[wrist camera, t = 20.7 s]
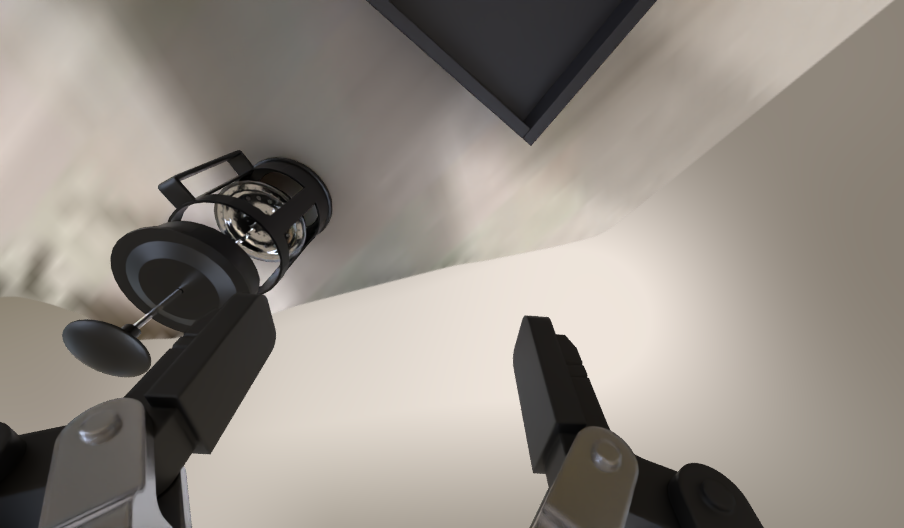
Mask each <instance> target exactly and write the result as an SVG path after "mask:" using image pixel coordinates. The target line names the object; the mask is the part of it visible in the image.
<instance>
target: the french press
mask: <svg viewBox="0 0 904 528" xmlns="http://www.w3.org/2000/svg"><path fill="white" fill-rule="evenodd" d="M225 161H227V162H229V163H230V165H231V166H232V167H233V169H234V170H235V171H236V172H237V174H238V175H239V176H237V177H235V178H233V179H231V180H229V181H227V182H225V183H223V184H222V185H220V186H218V187H216V188H214V189H212V190H210V191H208V192H206V193H204V194H202V195H200V196H198V197H197V198H195V197H194V196H193V195H192V194H191V193H190V192H189V191H188V190H187V188H186V187H185V186H184V185H183V184H182V183H181V180H184V179H186V178H188V177H191V176H193V175H195V174H198V173H200V172H202V171H205V170H207V169H209V168H212V167H214V166H216V165H219V164H221V163H223V162H225ZM270 172H279V173H282V174H284V175H286V176H289V177H290V178H292V179H293V180H295V181H296V182H298V183H299V184H300V185H301V186H302V187H303V189H302V190H301V191H300V192H298V193H297V194H296V195H295V196H294V197H292V198H291V197H290V196H288V195H287V194H286V193H284V192H283V191H281V190H279V189H278V188H276V187H274V186H271V185H269V184H267V183H263V182H259V181H260V179H261V178H262V177H263V176H264V175H266V174H267V173H270ZM234 181H235V182H234ZM233 182H234V183H233ZM231 183H232V184H231ZM225 186H226V187H225ZM223 187H225V188H223ZM221 188H223V189H222V190H221V191H220V193H219V194H212V193H214V192H216V191H218V190H220V189H221ZM158 189H159V190H160V191H161V193H162V194H163V195H164V196H165V197H166V198H167V199H168V200H169V201H170V202H171V203H172V204H173V205H174V207H175V208H176V210H175V211H174V212H173V213H172V215H171V216H170V217H169V220H168V222H167V223H164V224H162V225H159V226H152V227H144V228H139V229H137V230H134V231H131V232H129V233H127V234H126V235H124V236H123V237H122V238H121V239H119V240H118V241H117V243H116V244H115V246H114V247H113V250H112V254H111V269H112V272H113V275H114V278H115V280H116V282H117V284H118V286H119V287H120V289H121V291H122V292H123V293H124V294H125V296H126V297H127V298H128V299H129V300H130V301H131V302H132V303H133V304H134V305H135V306H136V307H137V308H138V309H139V310H141V311H142V312H143V313H145V314H146V315H145V316H144V317H142V318H141V319H140V320H139V321H137V322H136V323H135V324H134V325H132V324H126V325H124V326H123V327H121V328H120V327H117V326H115V325H112V324H109V323H106V322H103V321H98V320H88V319H87V320H86V319H85V320H77V321H74V322H71V323H70V324H68V325H67V326H66V327H65V329H64V330H63V334H62V337H63V341H64V343H65V346H66V347H67V348H68V350H69V351H70V352H71V353H72V354H73V355H74V356H75V357H76V358H77V359H78V360H80V361H81V362H82V363H84V364H85V365H87V366H89V367H91V368H93V369H95V370H97V371H99V372H102V373H105V374H109V375H112V376H118V377H135V376H139V375H141V374H143V373H145V372H147V370H148V369H149V368H150V366H151V357H150V354H149V352H148V350H147V349H146V347H145V346H144V345H143V344H142V343H141V342H140V341H139V340H138V339H137V337H138V336H139V335H140V334H141V331H140V329H139V328H141V327H142V326H143V325H144V324H145V323H147V322H148V321H149V320H150V319H151V318H152V319H154V320H155V321H157V322H159V323H161V324H163V325H165V326H167V327H169V328H172V329H174V330H177V331H180V332H183V333H185V332H186V331H187V330H188V329H189V328H190V326H191V325H192V324H193V323H194V322H195V321H196V320H197V319H199V318H200V317H202V316H204V315H205V314H207V313H209V312H210V311H212V310H213V309H215V308H218V309H221V308H222V307H223V306H224V304H225V303H226V302H227V301H228V300H229V299H230V298H231V297H232V296H233V295H234V294H235V293H248V294H261V295H262V294H264V293H266V292H268V291H270V290H271V289H272V288H273V287H274V286H275V285H276V284H277V283H278V282H279V281H280V280H281V278H282V277H283V276H284V274H285V272H286V271H287V270H288V268H289V267H290V266H291V265H292V263H293V262H294V261H295V260H296V259H297V257H298V256H299V255H300V254H301V253H302V251H303V250H304V249H305V248H306V246H307V245H308V244H309V243H310V242H311V241H312V240H313V239H314V238H315V237H316V235H318V234H319V233H321V232H322V231H323V230H324V229H325V228H326V226H327V225H328V223H329V221H330V218H331V215H332V201H331V197H330V194H329V191H328V189H327V188H326V186H325V184H324V182H323V181H322V180H321V179H320V177H319V176H318V175H317V174H316V173H315V172H313V171H312V170H311V169H310V168H308V167H307V166H305V165H304V164H302V163H299V162H297V161H295V160H291V159H287V158H277V157H276V158H269V159H266V160H263V161H261V162H259V163H257V164H256V165H255V166H253V165H252V164H251V163H250V161H249V160H248V159H247V157H246V156H245V155H244V154H243V152H242V151H240V150H237V151H234V152H232V153H229V154H227V155H224V156H222V157H219V158H217V159H214V160H212V161H209V162H207V163H204V164H202V165H199V166H197V167H194V168H192V169H189V170H187V171H184V172H182V173H179V174H177V175H175V176H173V177H171V178H169V179H168V180H166V181H164V182H162V183H161V184H159V185H158ZM202 202H206V203H215V206H214V213H215V219H216V222H217V225H218V227H219V229H220V231H221V232H219V231H218V230H216V229H213V228H211V227H208V226H206V225H203V224H199V223H194V222H189V221H181V219H182V216H183V213H184V211H185V210H186V209H187V208H188V206H190V205H192V204H195V203H202ZM314 204H315V206H316V209H317V213H318V217H317V219H316V221H315V222H314V223H313V224H312V225H311V226H309V227H307V228H306V224H305V219H304V216H303V215H304V214H305V213H306V212H307V211H308V210H309V209H310V208H311V207H312V206H313V205H314ZM250 257H252V258H254V259H257V260H261V261H266V262H280V266H279V267H278V268H277V269H276V270H275V271H274V273H273V274H272V275H271V276H270V277H269V278H268V279H267V281H266V282H265V283H264V284H263V285H262V286H260V287H259V283H260V278H259V274H258V271H257V269H256V267H255V265H254V263H253V261H252V259H251V258H250Z"/></svg>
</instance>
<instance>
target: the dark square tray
mask: <svg viewBox="0 0 904 528" xmlns="http://www.w3.org/2000/svg"><path fill="white" fill-rule="evenodd" d="M366 1H367V2H369V3H370V4H371V5H372V6H373V7H374V8H375V9H376V10H378V11H379V12H380V13H381V14H382V15H383V16H384V17H386V18H387V19H388V20H389V21H390V22H391V23H392V24H393V25H395V26H396V27H397V28H398V29H399V30H400V31H401V32H403V33H404V34H405V35H406V36H407V37H408V38H409V39H410V40H412V41H413V42H414V43H415V44H416V45H417V46H418V47H420V48H421V49H422V50H423V51H424V52H425V53H426V54H427V55H429V56H430V57H431V58H432V59H433V60H434V61H435V62H437V63H438V64H439V65H440V66H441V67H442V68H443V69H444V70H446V71H447V72H448V73H449V74H450V75H451V76H452V77H454V78H455V79H456V80H457V81H458V82H459V83H460V84H461V85H463V86H464V87H465V88H466V89H467V90H468V91H469V92H470V93H472V94H473V95H474V96H475V97H476V98H477V99H478V100H480V101H481V102H482V103H483V104H484V105H485V106H486V107H487V108H489V109H490V110H491V111H492V112H493V113H494V114H495V115H497V116H498V117H499V118H500V119H501V120H502V121H503V122H504V123H506V124H507V125H508V126H509V127H510V128H511V129H512V130H514V131H515V132H516V133H517V134H518V135H519V136H520V137H521V138H523V139H524V140H525V141H526V142H527V143H528V144H529V145H530V146H531V145H532V144H533V143H534V142H535V141H536V140H537V138H538V137H539V136H540V135H541V134H542V133H543V131H544V130H545V129H546V128H547V127H548V126H549V125H550V123H551V122H552V121H553V120H554V119H555V118H556V116H557V115H558V114H559V113H560V112H561V111H562V109H563V108H564V107H565V106H566V105H567V104H568V103H569V101H570V100H571V99H572V98H573V97H574V96H575V94H576V93H577V92H578V91H579V90H580V89H581V88H582V86H583V85H584V84H585V83H586V82H587V81H588V79H589V78H590V77H591V76H592V75H593V74H594V72H595V71H596V70H597V69H598V68H599V67H600V66H601V64H602V63H603V62H604V61H605V60H606V59H607V57H608V56H609V55H610V54H611V53H612V52H613V51H614V49H615V48H616V47H617V46H618V45H619V44H620V42H621V41H622V40H623V39H624V38H625V37H626V35H627V34H628V33H629V32H630V31H631V30H632V29H633V27H634V26H635V25H636V24H637V23H638V22H639V20H640V19H641V18H642V17H643V16H644V15H645V14H646V12H647V11H648V10H649V9H650V8H651V7H652V5H653V4H654V3H655V2H656V1H657V0H366Z"/></svg>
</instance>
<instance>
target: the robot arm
mask: <svg viewBox="0 0 904 528" xmlns="http://www.w3.org/2000/svg"><path fill="white" fill-rule="evenodd" d="M275 340H276V331H275V326H274V323H273V319H272V315H271V311H270V307H269V303H268V300H267V298H266V296H265V295H261V294H248V293H235V294H234V295H233V296H232V297H231V298H230V299H229V300H228V301H227V302H226V303H225V304H224V306H223V307H222V308H221V309H218V308H215V309H213V310H212V311H210V312H209V313H207V314H205V315H204V316H202V317H200V318H199V319H197V320H196V321H195V322H194V323H193V324H192V325H191V326H190V328H189V329H188V330H187V331H186V332H185V333H184V336H183V337H180V338H179V339H178V341H176V342H175V344H174V345H173V347H172V349H169V350H168V351H167V352H166V353H165V354H164V355H163V356H162V357H161V358H160V359H159V361H158V362H157V363H156V364H155V365H154V366H153V367H152V368H151V369H150V370H149V371H148V372H147V373H146V374H145V375H144V377H142V379H141V380H140V381H139V382H138V383H137V384H136V385H135V386H134V387H133V388H132V389H131V390H130V391H129V392H128V393H127V394H126V396H124V397H123V398H117V399H114V400H109V401H106V402H103V403H101V404H98V405H96V406H94V407H92V408H90V409H88V410H86V411H85V412H83V413H81V414H80V415H79V416H77V417H76V418H74V419H73V420H72V421H71V422H70V423H68V425H66V426H62V427H56V428H51V429H46V430H42V431H37V432H32V433H27V434H22V435H18V434H17V433H16V432H15V431H13V430H12V429H11V428H10V427H9V426H8V425H6V424H5V423H2V422H0V528H192V524H191V514H190V504H189V495H188V485H187V476H186V470H185V468H184V465H185V462H186V461H187V460H188V458H189V456H190V455H191V454H192V453H198V454H211V452H212V451H213V449H214V447H215V446H216V444H217V442H218V441H219V439H220V437H221V435H222V434H223V432H224V430H225V429H226V427H227V425H228V424H229V422H230V420H231V419H232V417H233V415H234V414H235V412H236V410H237V409H238V407H239V405H240V404H241V402H242V400H243V399H244V397H245V395H246V394H247V392H248V390H249V388H250V387H251V385H252V384H253V382H254V380H255V378H256V377H257V375H258V373H259V371H260V370H261V369H262V367H263V365H264V364H265V362H266V360H267V358H268V357H269V355H270V353H271V352H272V350H273V348H274V345H275ZM513 367H514V373H515V378H516V383H517V389H518V394H519V400H520V405H521V410H522V416H523V421H524V427H525V432H526V438H527V443H528V448H529V454H530V459H531V465H532V470H533V473H540V474H546V477H547V481H548V486H549V488H548V490H547V492H546V494H545V496H544V498H543V500H542V502H541V504H540V507H539V509H538V511H537V513H536V515H535V517H534V519H533V521H532V524H531V526H530V528H764V527H763V526H762V524H761V522H760V521H759V519H758V517H757V516H756V514H755V512H754V511H753V509H752V507H751V506H750V504H749V503H748V501H747V499H746V498H745V496H744V495H743V493H742V492H741V491H740V490H739V489H738V488H737V486H736V485H735V484H734V483H733V482H731V481H730V480H729V479H728V478H727V477H726V476H724V475H723V474H721V473H720V472H718V471H717V470H715V469H713V468H711V467H709V466H706V465H703V464H699V463H690V464H686V465H684V466H683V467H682V468H681V469H680V470H679V471H678V472H677V471H674V470H672V469H669V468H666V467H664V466H661V465H658V464H656V463H653V462H650V461H648V460H645V459H643V458H641V457H639V456H637V455H635V454H634V453H633V452H632V450H631V448H630V447H629V446H628V445H627V443H626V442H625V441H624V440H623V439H622V438H620V437H619V436H618V435H616V434H615V433H614V432H612V431H611V430H610V428H609V426H608V424H607V422H606V419H605V417H604V414H603V412H602V409H601V407H600V405H599V402H598V400H597V397H596V395H595V392H594V390H593V387H592V385H591V382H590V380H589V378H587V373H586V370H585V368H584V366H583V365H582V360H581V358H580V355H579V353H578V350H577V348H576V347H575V346H574V345H573V344H572V342H571V341H570V340H569V339H568V338H567V337H566V336H565V335H557V334H555V331H554V328H553V325H552V322H551V320H550V318H549V317H538V316H524V317H523V320H522V323H521V326H520V330H519V334H518V338H517V341H516V344H515V348H514V354H513Z"/></svg>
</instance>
